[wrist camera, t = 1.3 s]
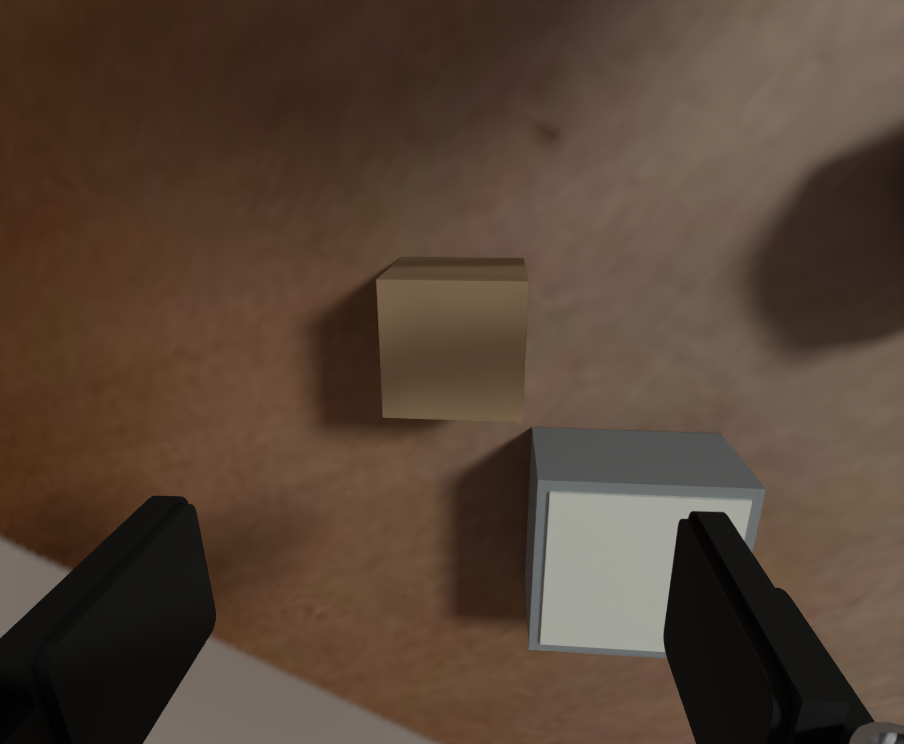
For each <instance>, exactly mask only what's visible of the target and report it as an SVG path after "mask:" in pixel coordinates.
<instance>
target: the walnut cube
mask: <svg viewBox="0 0 904 744" xmlns="http://www.w3.org/2000/svg"><path fill="white" fill-rule="evenodd" d="M376 284H377V306H378V327H379V348H380V369H381V390H382V411H383V418H410V419H439V420H469V421H499V422H522V420H523V398H524V375H525V353H526V330H527V307H528V285H529V281H528V277H527V272H526V268H525V263H524V259H523V258H447V257H401V258H399V259H398V260H397V261H396V262H395V263H394V264H393V265H392V266H391V267H390V268H388V269H387V270H386V271H385V272H384V273H383V274H382V275H381V276H380V277H378V278H377V279H376Z"/></svg>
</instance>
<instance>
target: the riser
mask: <svg viewBox="0 0 904 744" xmlns="http://www.w3.org/2000/svg"><path fill="white" fill-rule="evenodd" d="M765 491H766V489H765V487H764V486H763V485H762V484H761V482H760V481H759V480H758V479H757V477H756V476H755V475H754V474H753V473H752V471H751V470H750V469H749V468H748V466H747V465H746V464H745V463H744V461H743V460H742V459H741V458H740V457H739V455H738V454H737V453H736V452H735V450H734V449H733V448H732V447H731V445H730V444H729V443H728V442H727V441H726V439H725V438H724V437H723V436H722V434H718V433H688V432H657V431H627V430H597V429H566V428H536V427H532V438H531V458H530V479H529V499H528V519H527V539H526V559H525V593H526V611H527V630H528V648H529V650H544V651H560V652H576V653H592V654H608V655H623V656H639V657H655V658H667V656H666V653H665V648H664V641H663V633H664V625H665V617H666V610H667V602H668V595H669V588H670V580H671V573H672V565H673V558H674V551H675V543H676V536H677V528H678V523H679V521H680V519H688V516H689V514H690V512H692V511H708V512H724V513H726V514H727V515H728V517H729V518H730V520H731V521H732V523H733V524H734V526H735V527H736V529H737V531H738V532H739V534H740V535H741V537H742V538H743V540H744V541H745V543H746V544H747V546H748V547H749V549H750V550H751V552H753V548H754V543H755V538H756V533H757V529H758V524H759V519H760V515H761V510H762V505H763V501H764V496H765Z"/></svg>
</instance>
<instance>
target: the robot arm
mask: <svg viewBox="0 0 904 744" xmlns="http://www.w3.org/2000/svg"><path fill="white" fill-rule="evenodd" d="M215 621H216V610H215V605H214V600H213V595H212V590H211V584H210V579H209V574H208V569H207V564H206V559H205V554H204V549H203V543H202V538H201V533H200V528H199V523H198V518H197V513H196V509H195V507H194V506H193V505H192V504H188V501H187V500H186V499H185V498H184V497H182V496H152V497H151V498H149V499H148V500H147V501H146V502H145V503H144V504H143V505H141V506H140V507H139V508H138V509H137V510H136V511H135V512H134V513H133V514H132V515H131V516H130V517H129V518H128V519H127V520H126V521H124V522H123V523H122V524H121V525H120V526H119V527H118V528H117V529H116V530H115V531H114V532H113V533H112V534H111V535H110V536H109V537H107V538H106V539H105V540H104V541H103V542H102V543H101V544H100V545H99V546H98V547H97V548H96V549H95V550H94V551H93V552H92V553H90V554H89V555H88V556H87V557H86V558H85V559H84V560H83V561H82V562H81V563H80V564H79V565H78V566H77V567H76V568H75V569H73V570H72V571H71V572H70V573H69V574H68V575H67V576H66V577H65V578H64V579H63V580H62V581H61V582H60V583H59V584H58V585H57V586H55V588H53V589H52V590H51V591H50V592H49V593H48V594H47V595H46V596H45V597H44V598H43V599H42V600H41V601H40V602H38V603H37V604H36V605H35V606H34V607H33V608H32V609H31V610H30V611H29V612H28V613H27V614H26V615H25V616H24V617H23V618H22V619H20V620H19V621H18V622H17V623H16V624H15V625H14V626H13V627H12V628H11V629H10V630H9V631H8V632H7V633H6V634H4V635H3V636H2V637H1V638H0V744H143V742H144V740H145V739H146V738H147V736H148V734H149V733H150V731H151V730H152V728H153V726H154V725H155V723H156V721H157V720H158V718H159V716H160V715H161V713H162V712H163V710H164V709H165V707H166V705H167V704H168V702H169V700H170V699H171V697H172V696H173V694H174V692H175V691H176V689H177V688H178V686H179V684H180V683H181V681H182V679H183V678H184V676H185V675H186V673H187V671H188V670H189V668H190V667H191V665H192V663H193V662H194V660H195V659H196V657H197V655H198V654H199V652H200V650H201V649H202V647H203V646H204V644H205V642H206V641H207V639H208V638H209V636H210V634H211V633H212V631H213V628H214V625H215ZM663 641H664V648H665V653H666V656H667V659H668V662H669V665H670V668H671V671H672V674H673V677H674V680H675V683H676V686H677V689H678V692H679V695H680V698H681V700H682V703H683V706H684V709H685V712H686V715H687V718H688V721H689V724H690V727H691V730H692V733H693V736H694V739H695V742H696V744H904V726H903V725H898V724H894V723H889V722H875V721H874V720H873V718H872V717H871V715H870V714H869V712H868V711H867V709H866V708H865V707H864V705H863V704H862V702H861V701H860V699H859V698H858V696H857V695H856V693H855V692H854V690H853V689H852V687H851V686H850V684H849V683H848V681H847V680H846V678H845V677H844V675H843V674H842V673H841V671H840V670H839V668H838V667H837V665H836V664H835V662H834V661H833V659H832V658H831V656H830V655H829V653H828V652H827V650H826V649H825V647H824V646H823V644H822V643H821V641H820V640H819V639H818V637H817V636H816V634H815V633H814V631H813V630H812V628H811V627H810V625H809V624H808V622H807V621H806V619H805V618H804V616H803V615H802V613H801V612H800V610H799V609H798V608H797V606H796V605H795V603H794V602H793V600H792V599H791V597H790V596H789V595H788V594H787V593H786V592H785V591H784V590H782V589H780V588H775V587H774V585H773V584H772V582H771V581H770V579H769V578H768V576H767V575H766V573H765V572H764V570H763V569H762V567H761V566H760V564H759V563H758V561H757V560H756V558H755V556H754V555H753V553H752V552H751V550H750V549H749V547H748V546H747V544H746V543H745V541H744V540H743V538H742V537H741V535H740V534H739V532H738V531H737V529H736V527H735V526H734V524H733V523H732V521H731V520H730V518H729V517H728V515H727V514H726V513H724V512H708V511H692V512H690V514H689V516H688V519H680V521H679V523H678V528H677V536H676V543H675V551H674V558H673V565H672V573H671V580H670V588H669V595H668V602H667V610H666V617H665V625H664V633H663Z"/></svg>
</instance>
